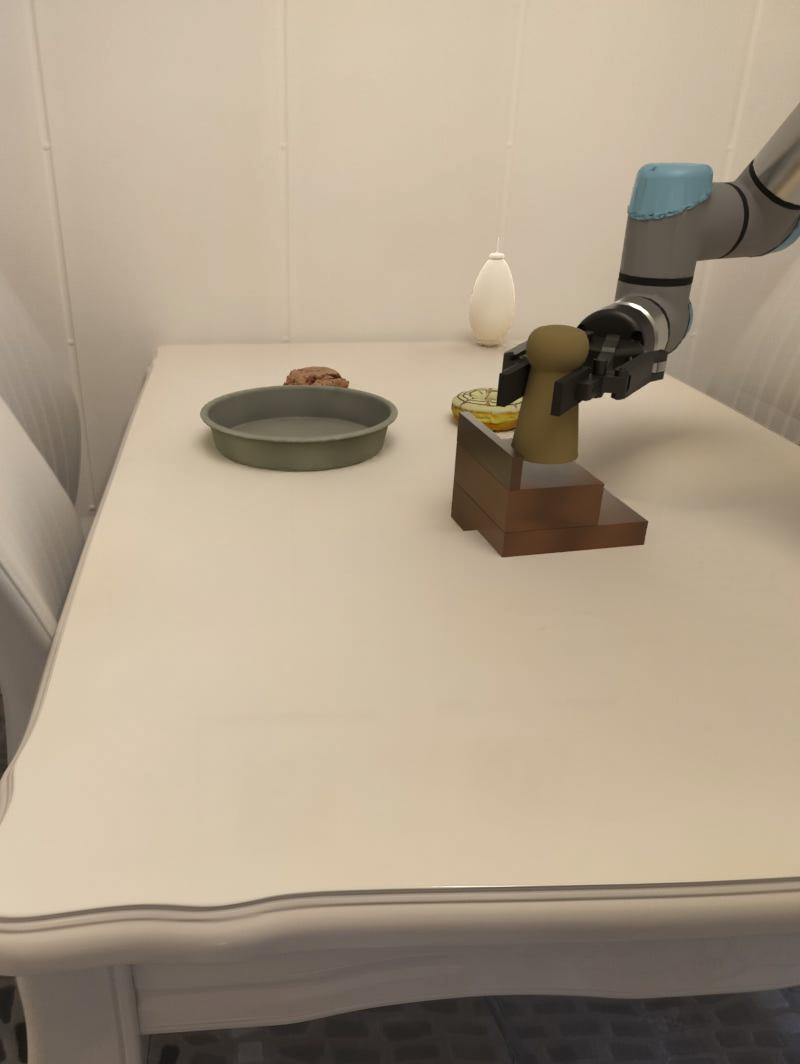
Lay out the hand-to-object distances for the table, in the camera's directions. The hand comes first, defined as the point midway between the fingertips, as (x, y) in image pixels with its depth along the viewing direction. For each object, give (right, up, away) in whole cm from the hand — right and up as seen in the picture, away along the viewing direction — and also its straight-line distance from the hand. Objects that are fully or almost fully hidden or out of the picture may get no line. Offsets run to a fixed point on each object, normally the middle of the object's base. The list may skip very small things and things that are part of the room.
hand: (529, 394), depth 75 cm
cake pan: (-20, +5, +41) cm, 46 cm away
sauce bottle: (+13, +33, +90) cm, 97 cm away
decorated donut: (+6, +9, +49) cm, 51 cm away
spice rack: (+5, -10, +15) cm, 19 cm away
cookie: (-18, +18, +64) cm, 68 cm away
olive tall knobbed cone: (+3, -4, +7) cm, 9 cm away
